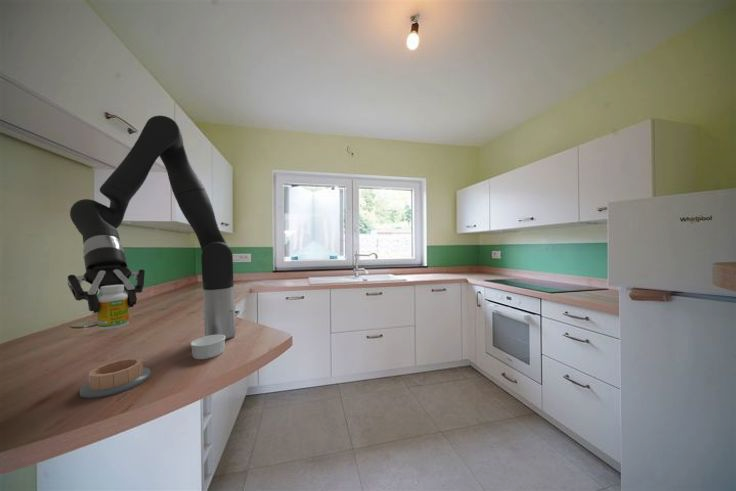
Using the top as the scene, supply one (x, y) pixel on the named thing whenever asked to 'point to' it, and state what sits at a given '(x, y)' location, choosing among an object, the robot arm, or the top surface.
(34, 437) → the top surface
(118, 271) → the robot arm
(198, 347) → the ramekin
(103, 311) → the supplement bottle
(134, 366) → the holder
